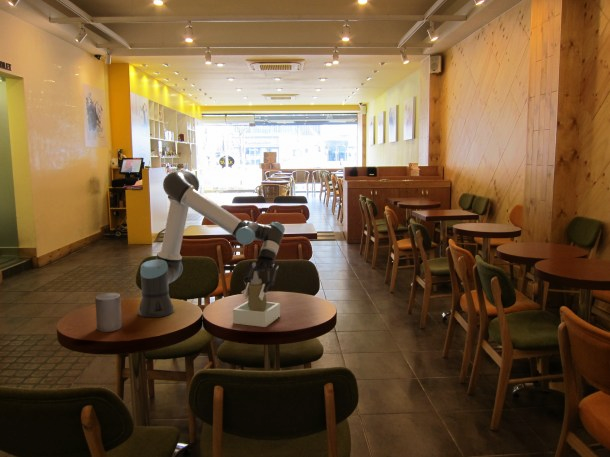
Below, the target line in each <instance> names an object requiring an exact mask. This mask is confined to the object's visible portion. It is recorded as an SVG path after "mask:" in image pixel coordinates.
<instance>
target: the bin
mask: <svg viewBox="0 0 610 457" xmlns="http://www.w3.org/2000/svg"><path fill="white" fill-rule="evenodd" d="M278 317H279V318H280V317H281V303H279V302H270V301H267V305H266V309H265V311H264V312H260V311H251V310H250V308H249V306H248V300H247V301H246V302H243V303H242V304H240V305H238V306H236V307H234V308H233V309H232V323H233V324H236V325H237V324H238V325H245V326H246V325H247V326H253V327H255V326H256V327H263V328H265V327H268V326H269V325H270V324H272V323H273V322H274V321H277V319H279V318H278Z"/></svg>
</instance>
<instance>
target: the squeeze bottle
mask: <svg viewBox="0 0 610 457" xmlns="http://www.w3.org/2000/svg"><path fill="white" fill-rule="evenodd" d="M253 271H254V270H253ZM263 284H264V283H263V281H262V278H259V274H258V273H257V271H254V276H253V279H251V285H249V295H248V298H247V299H248V300H247V301H248V306H249V308H250V310H251V311H260V312H264V311H265V309H266V305H267V302H268V301H267V295H266V293H265V294H264V297H263V300H260V298H259V294H260V291H261V289H262V286H263Z"/></svg>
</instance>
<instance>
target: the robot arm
mask: <svg viewBox="0 0 610 457" xmlns="http://www.w3.org/2000/svg"><path fill="white" fill-rule="evenodd" d="M162 186H163V187H162V188H163V191H164V192H165V194H166V195H167V199H168V201H169V202H170V203H169V207H168V208H169V209H168V213H167V219H166V223H165V228H164V234H163V239H162V244H161V250H159V251H158V252H157V253H156V258H155V259H151V260H147V261H145V262H143V263H141V265H140V280H141V281H140V283H141V300H140V304H139V308H138V315H139V317H143V318H159V317H165V316H169V315H171V314H173V313H174V310H175V309H174V305H173V303H172V300H171V297H170V293H169V291H170V290H169V289H170V288H169V285H170V284H171V283H173V282H175V281H176V280H178V279H179V277H180V276H181V275H182V273H183V269H184V267H183V266H184V265H183V263H182V259H183V257H182V255H181V253H180V252H181V248H182V244H183V243H182V242H183V238H184V233H185V232H184V231H185V226H186V222H187V217H188V212H189V208H190V209H192V210H194V211H195V212H196V213H198V214H199V215H201V216H203V217H204V218H206V220H207V219H208V221H210V222H212V223H213V224H214V225H216V226H218V227H219V228H221V229H222V230H224V231H225V232H227V233H228V234H230V235H232V236H233V237H234V238H236V241H237V242H238V243H239V244H240V245H249V244H251V243H252V242H254V241H255V240H257V241H259V242H260V241H261V242H263V243H262V245H261V247H260V250H259V254H258V256H257V259H256V261H255V262H253V261H250V262H249V264H248V265H249V266H248V268H247V269H246V273H245V274H244V277H243V279H242V281H243V282H244V284H245V283H246V285H244V287H243V289H244V290H245V292H244V294H243V297H244V299H248V295H249V285H251V279H253V276H254V271H257V273H258V275H260V273H261V272H264V283H262V284H263V286H262V289H261V291H260V294H259V298H260V300H263V297H264V294H266V293H268V290H269V287H271V286H272V287H273V286H274V285H275V282H276V277H277V273H278V271H279V268H280V267H279V265H278V263H275V262H276V258H277V254H278V252H279V249H280V246H281V244H282V240H283V238H284V233H285V230H286V228H285V226H284V225H283V224H282V223H281V222H278V221H275V222H274V221H272V222H270V224H269V225H267V224H263V223H258V222H255V221H252V220H242V219H240V218H238V217H237V216H236V215H234V214H232V213H230V212H229V211H228V210H227V209H225V208H223V207H222V206H220V205H219V204H217V203H215V202H214V201H213V200H211V199H209V198H208V197H207V196H205V195H203V194H202V193H200V192H199V189H200V180H199V179H198V177H197V175H196V174H194V173H193V172H191V171H187V170H181V171H173V172H170V173H168V174H167V175H166V176H165V178H164V179H163V182H162ZM271 269H272V270H271ZM270 270H271V274H270Z"/></svg>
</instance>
